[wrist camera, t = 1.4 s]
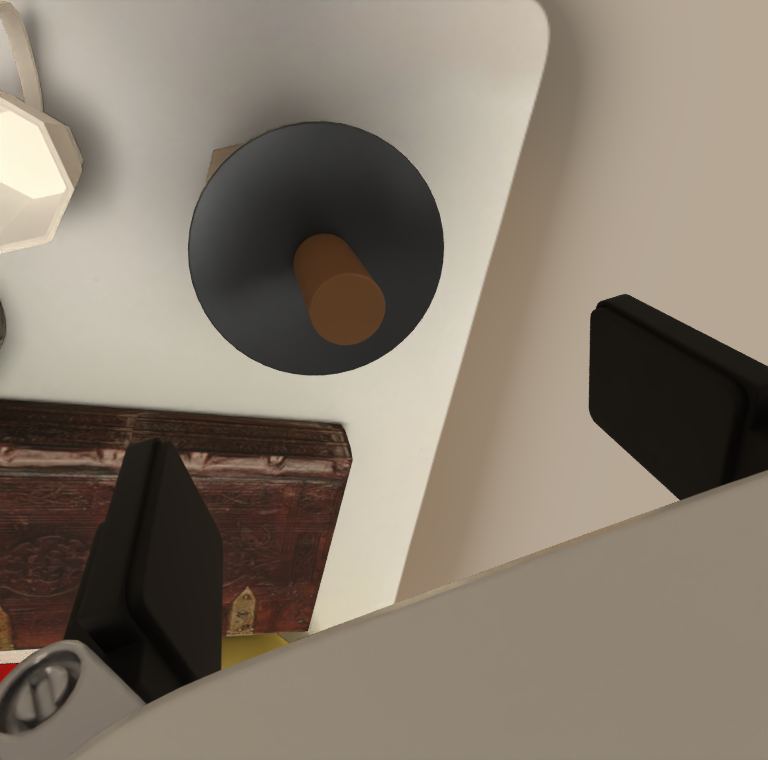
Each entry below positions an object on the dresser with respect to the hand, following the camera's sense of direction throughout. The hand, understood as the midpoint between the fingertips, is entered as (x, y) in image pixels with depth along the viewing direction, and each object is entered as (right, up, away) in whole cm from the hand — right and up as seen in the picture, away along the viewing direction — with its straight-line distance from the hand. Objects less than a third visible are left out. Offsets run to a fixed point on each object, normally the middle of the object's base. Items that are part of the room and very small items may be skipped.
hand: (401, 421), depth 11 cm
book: (-20, -9, +30) cm, 37 cm away
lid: (-3, +6, +9) cm, 11 cm away
